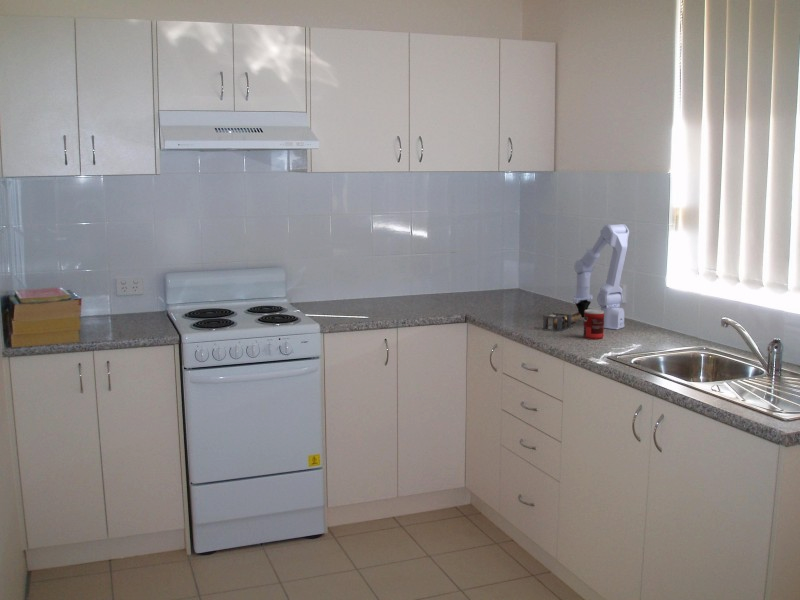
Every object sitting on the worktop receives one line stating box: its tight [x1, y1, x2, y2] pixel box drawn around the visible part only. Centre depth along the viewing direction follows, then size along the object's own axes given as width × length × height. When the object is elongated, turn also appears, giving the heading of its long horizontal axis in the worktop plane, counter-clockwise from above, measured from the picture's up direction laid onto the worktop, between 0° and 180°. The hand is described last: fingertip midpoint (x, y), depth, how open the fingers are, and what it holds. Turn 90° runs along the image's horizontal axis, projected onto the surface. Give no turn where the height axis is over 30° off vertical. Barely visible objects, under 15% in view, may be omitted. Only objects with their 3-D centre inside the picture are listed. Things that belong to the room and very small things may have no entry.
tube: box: [554, 311, 582, 326], centre depth 359 cm, size 4×18×4 cm, turn 140°
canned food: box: [583, 308, 605, 341], centre depth 332 cm, size 8×8×11 cm
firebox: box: [541, 311, 573, 332], centre depth 352 cm, size 8×12×6 cm, turn 140°
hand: (582, 317), depth 369 cm, fingers closed
